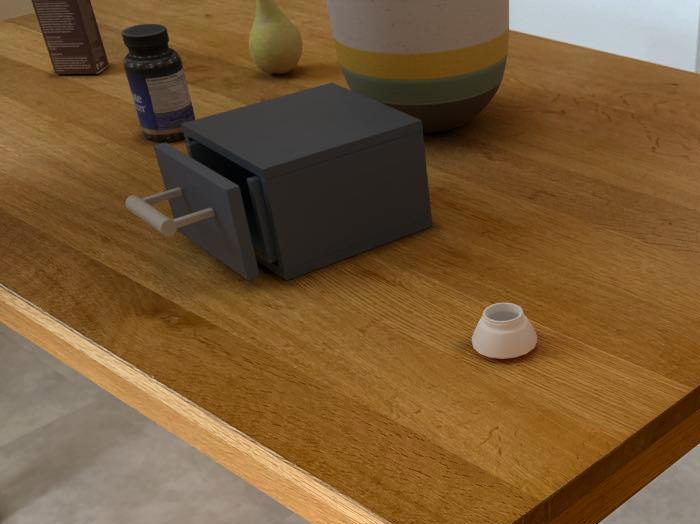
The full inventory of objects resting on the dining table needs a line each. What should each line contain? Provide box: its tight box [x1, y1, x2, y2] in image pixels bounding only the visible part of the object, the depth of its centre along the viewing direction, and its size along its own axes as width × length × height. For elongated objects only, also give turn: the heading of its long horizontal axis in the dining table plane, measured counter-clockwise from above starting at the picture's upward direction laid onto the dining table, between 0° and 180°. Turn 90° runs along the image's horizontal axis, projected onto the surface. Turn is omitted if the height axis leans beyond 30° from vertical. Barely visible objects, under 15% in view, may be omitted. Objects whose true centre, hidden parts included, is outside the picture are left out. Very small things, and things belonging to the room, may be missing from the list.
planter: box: [325, 0, 510, 134], centre depth 109 cm, size 20×20×21 cm
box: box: [30, 0, 110, 75], centre depth 131 cm, size 6×4×12 cm
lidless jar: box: [471, 302, 538, 360], centre depth 77 cm, size 5×3×5 cm
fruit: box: [248, 0, 303, 75], centre depth 127 cm, size 7×8×12 cm
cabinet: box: [181, 82, 433, 281], centre depth 92 cm, size 16×15×10 cm
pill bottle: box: [121, 23, 197, 143], centre depth 112 cm, size 6×6×11 cm
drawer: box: [125, 140, 278, 281], centre depth 89 cm, size 20×14×8 cm
